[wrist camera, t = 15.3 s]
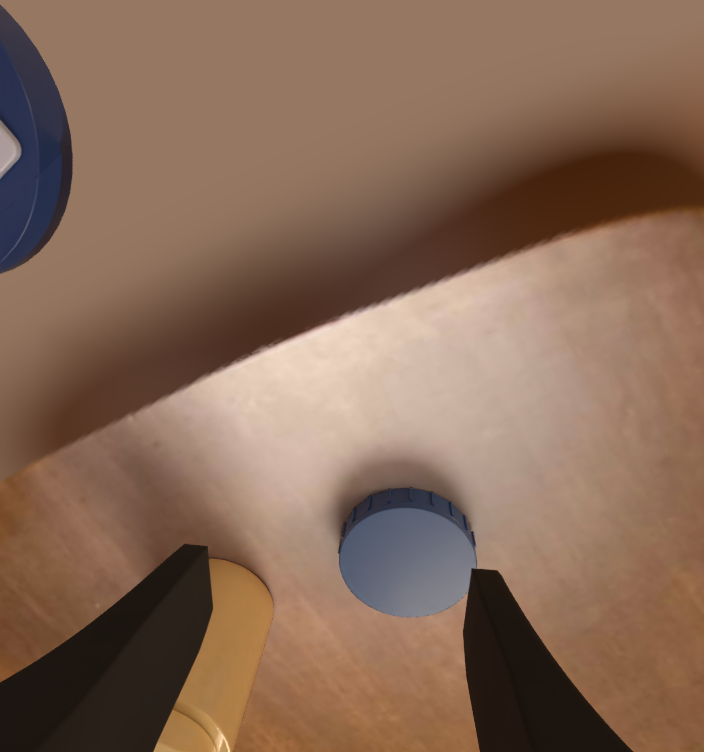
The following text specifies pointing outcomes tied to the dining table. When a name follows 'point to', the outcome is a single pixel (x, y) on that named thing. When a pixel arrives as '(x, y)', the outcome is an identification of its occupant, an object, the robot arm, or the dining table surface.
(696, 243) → the dining table surface
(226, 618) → the jar
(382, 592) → the lid
